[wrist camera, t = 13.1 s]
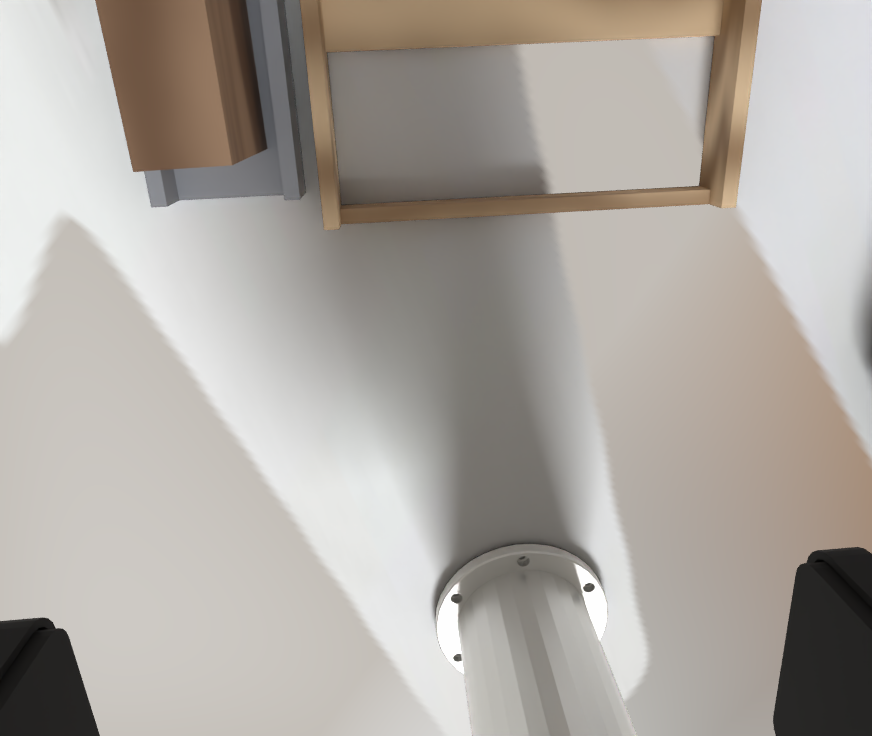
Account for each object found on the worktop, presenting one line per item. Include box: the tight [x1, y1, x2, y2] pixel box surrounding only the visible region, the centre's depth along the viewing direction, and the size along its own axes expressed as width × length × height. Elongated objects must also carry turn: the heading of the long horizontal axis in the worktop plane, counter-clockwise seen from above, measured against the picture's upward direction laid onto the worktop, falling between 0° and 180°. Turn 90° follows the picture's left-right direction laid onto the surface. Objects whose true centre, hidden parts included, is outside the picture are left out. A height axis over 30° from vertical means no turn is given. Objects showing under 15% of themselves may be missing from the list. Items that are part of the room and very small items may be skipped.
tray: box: [300, 0, 762, 230], centre depth 34 cm, size 18×22×3 cm
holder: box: [144, 0, 306, 207], centre depth 33 cm, size 17×8×3 cm, turn 2°
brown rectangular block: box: [95, 0, 268, 172], centre depth 29 cm, size 4×12×9 cm, turn 3°
